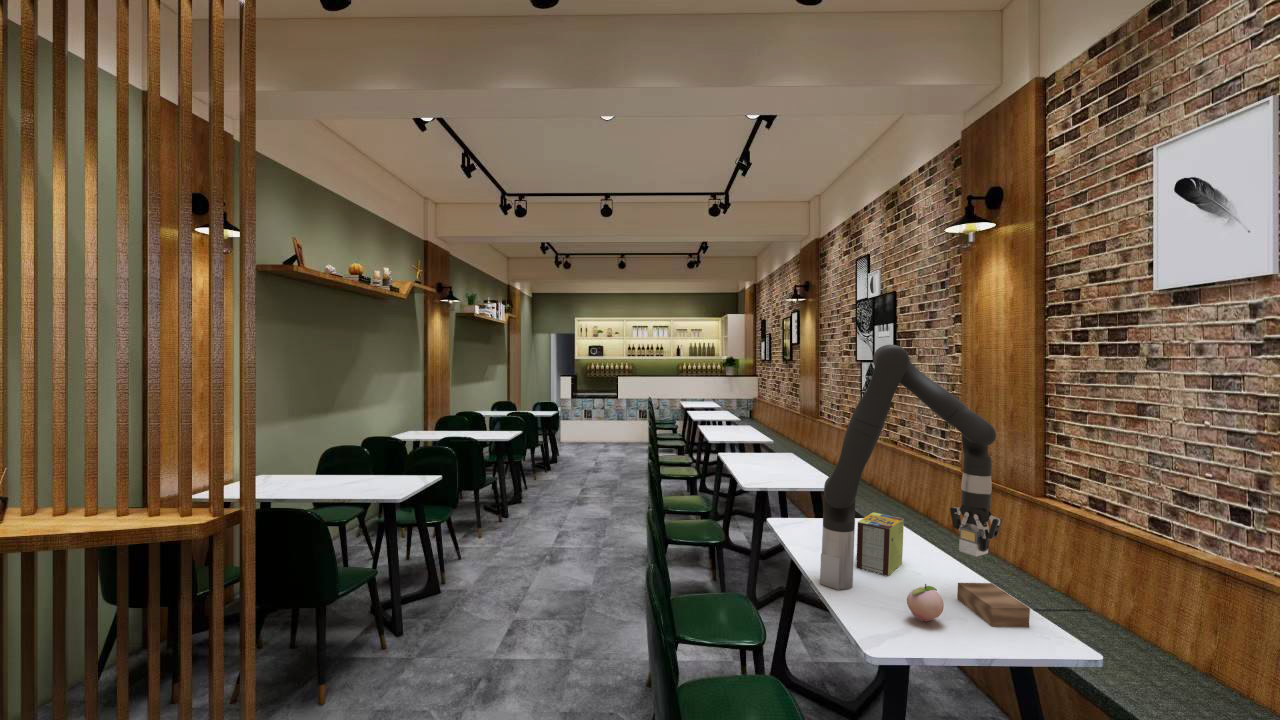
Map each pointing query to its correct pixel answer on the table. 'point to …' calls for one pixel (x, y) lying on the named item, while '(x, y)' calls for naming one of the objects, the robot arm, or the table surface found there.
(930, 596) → the decorative fruit
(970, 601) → the walnut stand
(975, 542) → the housing
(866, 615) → the table surface
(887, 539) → the protein box
